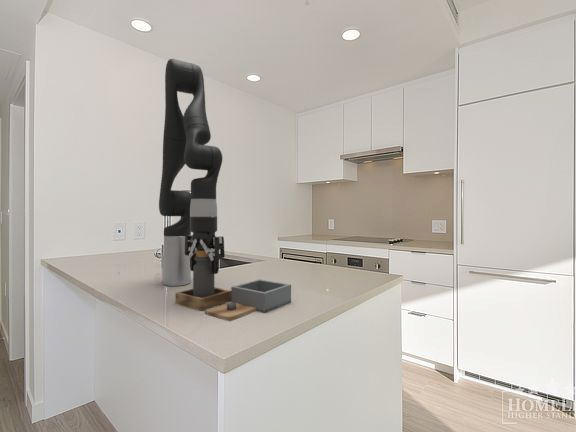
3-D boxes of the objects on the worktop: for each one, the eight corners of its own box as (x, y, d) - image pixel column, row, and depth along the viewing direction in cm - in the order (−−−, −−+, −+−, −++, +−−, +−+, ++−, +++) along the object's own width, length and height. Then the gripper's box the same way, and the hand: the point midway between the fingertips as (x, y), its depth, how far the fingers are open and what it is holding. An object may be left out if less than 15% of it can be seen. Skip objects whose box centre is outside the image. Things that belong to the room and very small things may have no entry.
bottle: (208, 306, 87) (208, 251, 87) (189, 304, 89) (189, 251, 88) (217, 300, 93) (217, 249, 93) (199, 298, 94) (199, 248, 94)
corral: (175, 303, 89) (175, 293, 89) (206, 295, 98) (206, 285, 98) (201, 310, 83) (201, 299, 83) (231, 301, 92) (231, 290, 92)
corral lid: (204, 313, 81) (204, 305, 81) (232, 304, 89) (232, 297, 89) (229, 320, 76) (229, 312, 76) (257, 310, 84) (257, 302, 84)
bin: (231, 304, 89) (231, 286, 89) (259, 295, 99) (259, 279, 98) (264, 312, 82) (264, 293, 82) (291, 301, 92) (291, 284, 92)
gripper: (176, 215, 91) (177, 271, 91) (210, 215, 83) (210, 277, 83) (197, 215, 97) (198, 268, 97) (231, 215, 89) (231, 272, 89)
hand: (204, 272), depth 90 cm, fingers open, 8 cm apart
